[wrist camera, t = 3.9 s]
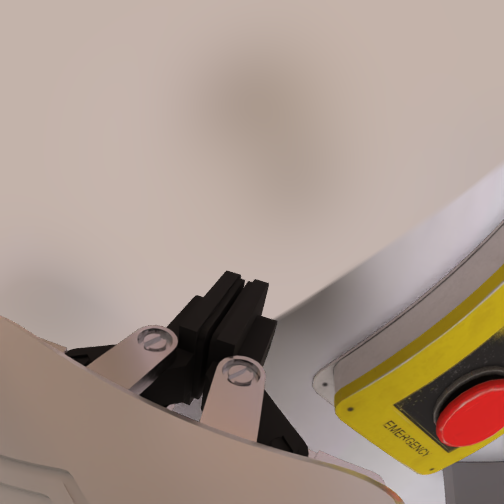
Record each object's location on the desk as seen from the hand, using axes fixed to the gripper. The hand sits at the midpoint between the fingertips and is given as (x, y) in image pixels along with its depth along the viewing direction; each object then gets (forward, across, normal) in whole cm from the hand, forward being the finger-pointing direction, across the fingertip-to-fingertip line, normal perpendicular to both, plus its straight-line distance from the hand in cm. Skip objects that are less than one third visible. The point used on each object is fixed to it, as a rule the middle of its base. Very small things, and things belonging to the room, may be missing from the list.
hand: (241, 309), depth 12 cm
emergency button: (+2, -11, 0) cm, 11 cm away
